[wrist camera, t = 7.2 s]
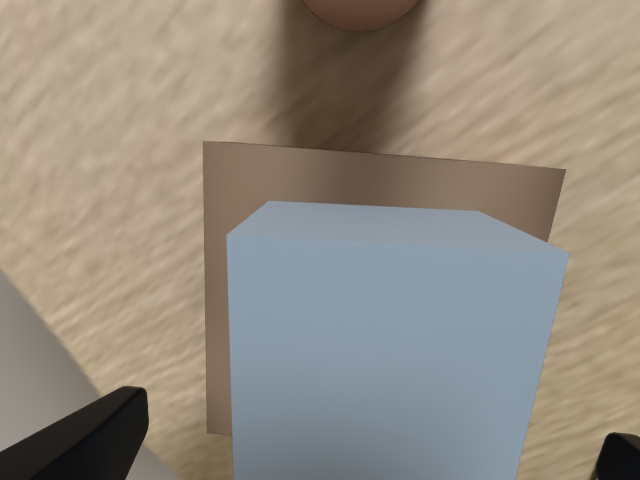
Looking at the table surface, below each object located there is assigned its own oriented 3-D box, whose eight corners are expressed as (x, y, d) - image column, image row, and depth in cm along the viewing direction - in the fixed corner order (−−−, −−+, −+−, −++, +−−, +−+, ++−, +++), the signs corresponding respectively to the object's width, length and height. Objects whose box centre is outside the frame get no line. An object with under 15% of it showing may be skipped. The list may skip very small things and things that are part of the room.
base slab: (519, 164, 12) (566, 169, 9) (465, 408, 15) (491, 461, 12) (229, 142, 12) (202, 141, 10) (228, 386, 15) (206, 433, 12)
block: (479, 211, 10) (570, 253, 6) (445, 416, 12) (498, 548, 8) (268, 200, 10) (226, 234, 6) (268, 403, 12) (234, 527, 8)
